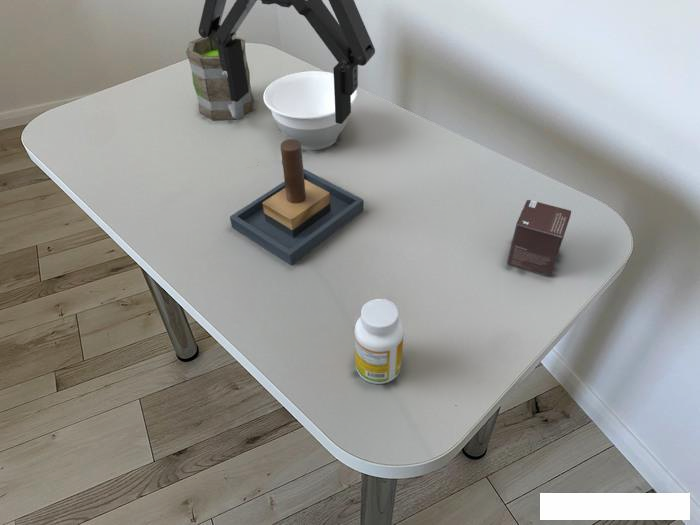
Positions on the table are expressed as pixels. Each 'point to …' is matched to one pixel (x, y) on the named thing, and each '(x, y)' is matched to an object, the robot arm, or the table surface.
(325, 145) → the bowl
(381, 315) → the supplement bottle
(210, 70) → the mug
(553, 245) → the box
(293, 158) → the peg on wooden base
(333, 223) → the tray
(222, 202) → the table surface
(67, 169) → the table surface
